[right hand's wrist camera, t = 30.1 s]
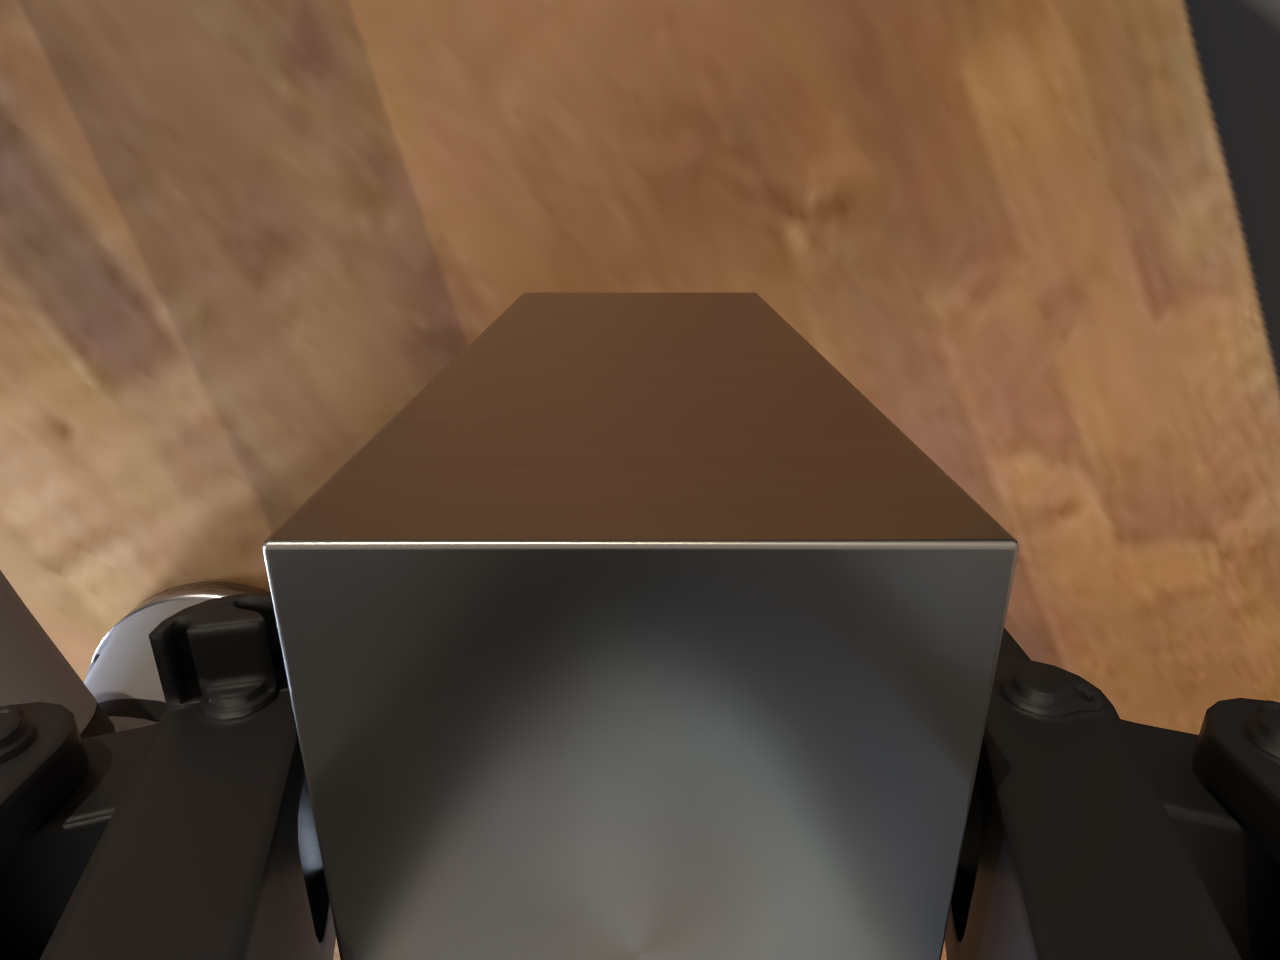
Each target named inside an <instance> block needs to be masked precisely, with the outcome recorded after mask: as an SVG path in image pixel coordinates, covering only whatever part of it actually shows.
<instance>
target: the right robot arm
mask: <svg viewBox="0 0 1280 960" xmlns="http://www.w3.org/2000/svg"><path fill="white" fill-rule="evenodd" d="M335 940H336V932H335V927H334V922H333V916H332V911H331V906H330V901H329V895H328V890H327V885H326V879H325V874H324V869H323V864H322V858H321V853H320V848H319V843H318V837H317V832H316V827H315V822H314V816H313V811H312V806H311V801H310V795H309V790H308V785H307V779H306V774H305V769H304V764H303V758H302V753H301V748H300V743H299V737H298V732H297V727H296V722H295V716H294V711H293V706H292V701H291V695H290V690H289V685H288V679H287V674H286V669H285V664H284V658H283V653H282V648H281V643H280V637H279V632H278V627H277V622H276V616H275V611H274V606H273V601H272V595H271V593H269V592H266V591H263V590H260V589H257V588H253V587H249V586H244V585H240V584H232V583H222V582H201V583H193V584H187V585H182V586H178V587H174V588H171V589H168V590H165V591H163V592H161V593H158V594H156V595H154V596H152V597H151V598H149V599H147V600H146V601H144V602H143V603H141V604H140V605H139V606H137V607H136V608H135V609H134V610H133V611H131V612H130V613H129V614H128V615H127V616H126V617H124V618H123V619H122V620H121V621H120V622H118V623H117V624H116V625H115V626H114V627H113V628H112V629H111V630H110V631H109V632H108V633H107V635H106V636H105V637H104V638H103V640H102V641H101V643H100V644H99V646H98V648H97V650H96V652H95V654H94V656H93V659H92V662H91V665H90V667H89V670H88V673H87V677H86V680H85V681H84V683H83V681H82V680H81V679H80V677H79V676H78V675H77V673H76V672H75V671H74V669H73V668H72V667H71V665H70V664H69V663H68V661H67V660H66V659H65V657H64V656H63V655H62V654H61V652H60V651H59V650H58V648H57V647H56V646H55V644H54V643H53V642H52V640H51V639H50V638H49V636H48V635H47V634H46V632H45V631H44V630H43V628H42V627H41V626H40V624H39V623H38V622H37V620H36V619H35V618H34V616H33V615H32V614H31V612H30V611H29V610H28V608H27V607H26V605H25V604H24V603H23V601H22V600H21V598H20V597H19V596H18V594H17V593H16V591H15V590H14V589H13V587H12V586H11V584H10V583H9V582H8V580H7V579H6V577H5V576H4V575H3V573H2V572H1V570H0V960H333V956H334V948H335ZM945 946H946V954H947V960H1280V703H1279V702H1274V701H1267V700H1266V701H1263V700H1254V699H1245V698H1237V699H1230V700H1223V701H1218V702H1217V703H1215V704H1214V705H1213V706H1211V707H1210V708H1209V709H1207V711H1206V714H1205V717H1204V721H1203V724H1202V727H1201V730H1200V733H1199V735H1195V734H1190V733H1184V732H1179V731H1174V730H1169V729H1164V728H1159V727H1153V726H1148V725H1143V724H1138V723H1134V722H1130V721H1126V720H1122V719H1120V718H1119V716H1118V714H1117V712H1116V710H1115V708H1114V706H1113V705H1112V704H1111V702H1110V701H1109V700H1108V699H1107V698H1106V696H1105V695H1104V694H1103V693H1102V692H1101V690H1099V689H1098V688H1096V687H1095V686H1093V685H1092V684H1090V683H1089V682H1087V681H1086V680H1084V679H1083V678H1081V677H1080V676H1078V675H1075V674H1073V673H1071V672H1068V671H1066V670H1063V669H1061V668H1058V667H1056V666H1053V665H1049V664H1044V663H1040V662H1035V661H1031V660H1030V658H1029V657H1028V656H1027V655H1026V654H1025V652H1024V651H1023V650H1022V649H1021V647H1020V646H1019V645H1018V644H1017V643H1016V641H1015V640H1014V639H1013V638H1012V636H1011V635H1010V634H1009V633H1008V632H1007V630H1006V629H1005V628H1004V629H1003V635H1002V640H1001V645H1000V650H999V656H998V661H997V666H996V671H995V677H994V682H993V687H992V692H991V698H990V703H989V708H988V713H987V719H986V724H985V729H984V734H983V740H982V745H981V750H980V755H979V761H978V766H977V771H976V776H975V782H974V787H973V792H972V797H971V803H970V808H969V813H968V818H967V824H966V829H965V834H964V839H963V845H962V850H961V855H960V860H959V866H958V871H957V876H956V881H955V887H954V892H953V897H952V902H951V907H950V913H949V918H948V923H947V928H946V934H945Z"/></svg>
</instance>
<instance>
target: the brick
mask: <svg viewBox="0 0 1280 960" xmlns="http://www.w3.org/2000/svg"><path fill="white" fill-rule="evenodd" d="M1018 551H1019V546H1018V542H1017V540H1015V539H1014V538H1013V537H1012V536H1011V535H1010V534H1009V533H1008V532H1007V531H1006V530H1005V529H1004V528H1003V527H1002V526H1001V525H1000V524H999V523H998V522H997V521H995V520H994V519H993V518H992V517H991V516H990V515H989V514H988V513H987V512H986V511H985V510H984V509H983V508H982V507H981V506H980V505H979V504H978V503H977V502H975V501H974V500H973V499H972V498H971V497H970V496H969V495H968V494H967V493H966V492H965V491H964V490H963V489H962V488H961V487H960V486H959V485H958V484H957V483H956V482H954V481H953V480H952V479H951V478H950V477H949V476H948V475H947V474H946V473H945V472H944V471H943V470H942V469H941V468H940V467H939V466H938V465H937V464H936V463H934V462H933V461H932V460H931V459H930V458H929V457H928V456H927V455H926V454H925V453H924V452H923V451H922V450H921V449H920V448H919V447H918V446H917V445H916V444H915V443H913V442H912V441H911V440H910V439H909V438H908V437H907V436H906V435H905V434H904V433H903V432H902V431H901V430H900V429H899V428H898V427H897V426H896V425H895V424H893V423H892V422H891V421H890V420H889V419H888V418H887V417H886V416H885V415H884V414H883V413H882V412H881V411H880V410H879V409H878V408H877V407H876V406H875V405H873V404H872V403H871V402H870V401H869V400H868V399H867V398H866V397H865V396H864V395H863V394H862V393H861V392H860V391H859V390H858V389H857V388H856V387H855V386H854V385H852V384H851V383H850V382H849V381H848V380H847V379H846V378H845V377H844V376H843V375H842V374H841V373H840V372H839V371H838V370H837V369H836V368H835V367H834V366H832V365H831V364H830V363H829V362H828V361H827V360H826V359H825V358H824V357H823V356H822V355H821V354H820V353H819V352H818V351H817V350H816V349H815V348H814V347H813V346H811V345H810V344H809V343H808V342H807V341H806V340H805V339H804V338H803V337H802V336H801V335H800V334H799V333H798V332H797V331H796V330H795V329H794V328H793V327H791V326H790V325H789V324H788V323H787V322H786V321H785V320H784V319H783V318H782V317H781V316H780V315H779V314H778V313H777V312H776V311H775V310H774V309H773V308H771V307H770V306H769V305H768V304H767V303H766V302H765V301H764V300H763V299H762V298H761V297H760V296H759V295H758V294H757V293H523V294H522V295H521V296H520V297H519V298H518V299H517V300H516V301H515V302H514V303H513V304H512V305H511V306H510V307H509V308H508V309H507V310H506V311H505V312H504V313H503V314H502V315H500V316H499V317H498V318H497V319H496V320H495V321H494V322H493V323H492V324H491V325H490V326H489V327H488V328H487V329H486V330H485V331H484V332H483V333H482V334H481V335H480V336H478V337H477V338H476V339H475V340H474V341H473V342H472V343H471V344H470V345H469V346H468V347H467V348H466V349H465V350H464V351H463V352H462V353H461V354H460V355H459V356H458V357H457V358H455V359H454V360H453V361H452V362H451V363H450V364H449V365H448V366H447V367H446V368H445V369H444V370H443V371H442V372H441V373H440V374H439V375H438V376H437V377H436V378H435V379H434V380H432V381H431V382H430V383H429V384H428V385H427V386H426V387H425V388H424V389H423V390H422V391H421V392H420V393H419V394H418V395H417V396H416V397H415V398H414V399H413V400H412V401H411V402H409V403H408V404H407V405H406V406H405V407H404V408H403V409H402V410H401V411H400V412H399V413H398V414H397V415H396V416H395V417H394V418H393V419H392V420H391V421H390V422H389V423H388V424H386V425H385V426H384V427H383V428H382V429H381V430H380V431H379V432H378V433H377V434H376V435H375V436H374V437H373V438H372V439H371V440H370V441H369V442H368V443H367V444H366V445H365V446H363V447H362V448H361V449H360V450H359V451H358V452H357V453H356V454H355V455H354V456H353V457H352V458H351V459H350V460H349V461H348V462H347V463H346V464H345V465H344V466H343V467H342V468H340V469H339V470H338V471H337V472H336V473H335V474H334V475H333V476H332V477H331V478H330V479H329V480H328V481H327V482H326V483H325V484H324V485H323V486H322V487H321V488H320V489H319V490H317V491H316V492H315V493H314V494H313V495H312V496H311V497H310V498H309V499H308V500H307V501H306V502H305V503H304V504H303V505H302V506H301V507H300V508H299V509H298V510H297V511H296V512H294V513H293V514H292V515H291V516H290V517H289V518H288V519H287V520H286V521H285V522H284V523H283V524H282V525H281V526H280V527H279V528H278V529H277V530H276V531H275V532H274V533H273V534H271V535H270V536H269V537H268V538H267V539H266V540H265V541H264V544H263V553H264V558H265V564H266V569H267V574H268V579H269V585H270V590H271V595H272V601H273V606H274V611H275V616H276V622H277V627H278V632H279V637H280V643H281V648H282V653H283V658H284V664H285V669H286V674H287V679H288V685H289V690H290V695H291V701H292V706H293V711H294V716H295V722H296V727H297V732H298V737H299V743H300V748H301V753H302V758H303V764H304V769H305V774H306V779H307V785H308V790H309V795H310V801H311V806H312V811H313V816H314V822H315V827H316V832H317V837H318V843H319V848H320V853H321V858H322V864H323V869H324V874H325V879H326V885H327V890H328V895H329V901H330V906H331V911H332V916H333V922H334V927H335V932H336V937H337V943H338V948H339V953H340V958H341V960H941V955H942V949H943V944H944V939H945V934H946V928H947V923H948V918H949V913H950V907H951V902H952V897H953V892H954V887H955V881H956V876H957V871H958V866H959V860H960V855H961V850H962V845H963V839H964V834H965V829H966V824H967V818H968V813H969V808H970V803H971V797H972V792H973V787H974V782H975V776H976V771H977V766H978V761H979V755H980V750H981V745H982V740H983V734H984V729H985V724H986V719H987V713H988V708H989V703H990V698H991V692H992V687H993V682H994V677H995V671H996V666H997V661H998V656H999V650H1000V645H1001V640H1002V635H1003V629H1004V624H1005V619H1006V614H1007V608H1008V603H1009V598H1010V593H1011V587H1012V582H1013V577H1014V572H1015V566H1016V561H1017V556H1018Z"/></svg>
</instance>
